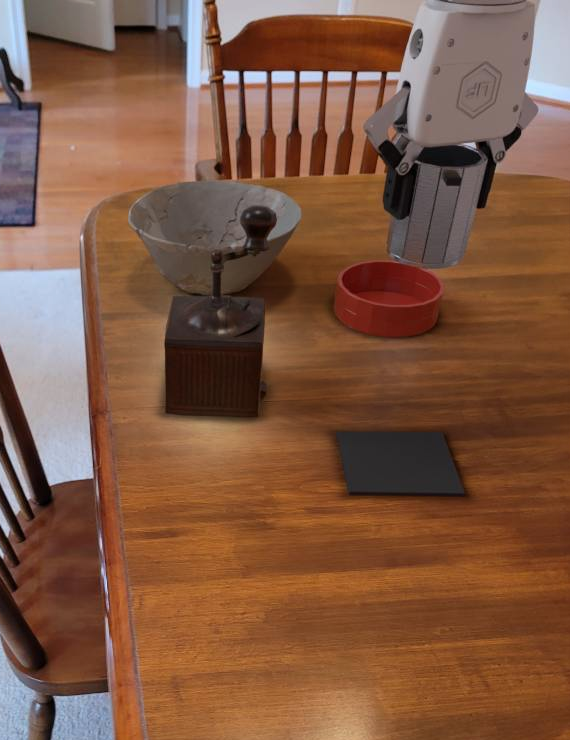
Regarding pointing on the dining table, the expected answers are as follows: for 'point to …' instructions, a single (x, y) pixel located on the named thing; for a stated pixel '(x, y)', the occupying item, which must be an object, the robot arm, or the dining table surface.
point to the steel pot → (439, 207)
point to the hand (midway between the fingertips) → (433, 207)
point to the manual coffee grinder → (219, 339)
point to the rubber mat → (398, 464)
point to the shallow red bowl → (388, 298)
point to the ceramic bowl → (209, 231)
